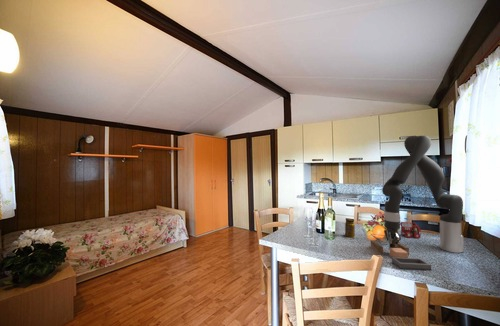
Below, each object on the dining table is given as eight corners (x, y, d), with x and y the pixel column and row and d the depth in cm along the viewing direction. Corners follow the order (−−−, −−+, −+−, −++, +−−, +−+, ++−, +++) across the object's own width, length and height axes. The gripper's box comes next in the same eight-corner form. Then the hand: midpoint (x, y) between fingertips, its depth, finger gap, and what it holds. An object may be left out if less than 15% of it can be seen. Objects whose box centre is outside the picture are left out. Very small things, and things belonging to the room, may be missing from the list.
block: (400, 255, 115) (400, 248, 115) (407, 260, 109) (407, 252, 109) (389, 254, 116) (389, 247, 116) (396, 259, 110) (396, 252, 110)
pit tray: (420, 263, 105) (420, 258, 105) (431, 270, 98) (431, 265, 98) (391, 262, 106) (391, 257, 106) (400, 268, 99) (400, 263, 99)
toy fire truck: (423, 239, 140) (423, 224, 140) (403, 237, 143) (403, 223, 143) (418, 236, 147) (417, 221, 147) (398, 234, 150) (398, 220, 150)
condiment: (357, 237, 144) (357, 220, 144) (350, 239, 140) (350, 221, 140) (347, 234, 150) (347, 217, 150) (340, 236, 146) (340, 219, 146)
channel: (397, 247, 125) (397, 241, 125) (408, 254, 115) (408, 247, 115) (370, 246, 126) (370, 240, 126) (379, 253, 116) (379, 246, 117)
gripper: (406, 223, 111) (406, 255, 110) (392, 216, 124) (392, 245, 124) (392, 222, 111) (392, 254, 111) (379, 216, 124) (379, 245, 124)
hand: (392, 249), depth 117 cm, fingers closed
